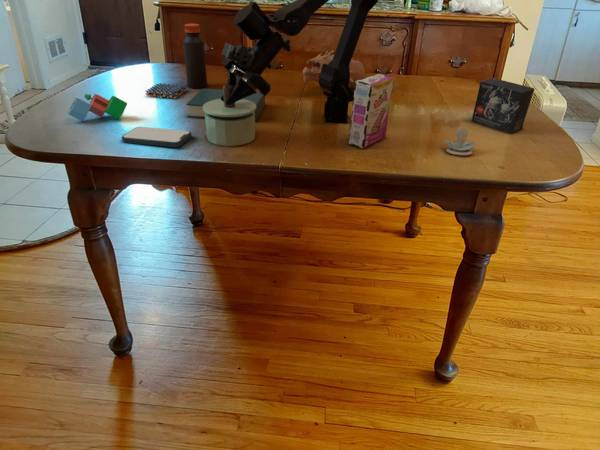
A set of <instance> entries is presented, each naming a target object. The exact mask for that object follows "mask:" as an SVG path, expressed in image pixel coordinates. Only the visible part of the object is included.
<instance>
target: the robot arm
mask: <svg viewBox="0 0 600 450" xmlns="http://www.w3.org/2000/svg"><path fill="white" fill-rule="evenodd" d="M329 1H330V0H295V1H292V2H289V3H287V4H286V5H283V6H281V7H280V8H278V9H276V11H274V12H273V13H272V14H267V15H266V14H265V12H264V11H263V10H262V9H261V7H260V6H259V4H258V3H257V2H256V1H250V2H249V4H247V5H245V6H243V7H242V8H240V9H239V10H238V11H237V12H236V14H235V16H234V17H233V23H234V25H236V27H237V28H238V29H239V30H240V31H241V32H242V33H243V34H244V35H245V36H246V37H247V38H248V39H249V40H250V41H256V42H255V43H254V45H253V46H252V47H250V46H244V45H242V44H238V45H237V46H235V45H233V44H231V43H228V42H224V45H223V48H222V51H221V54H220V56H223V57H224V59H223V61H222V62H221V65H222V66H223V67H224V69H225V72H226V75H227V80H226V84H225V85H233V86H234V88H233V90H232V92H231V93H230V95H229V96H228V98H227V100H226V102H225V103H226V104H227V105H231V104H233V103H235V102H237V101H239V100H241V99H243V98H245V97H248V96H250V95H252V94H256V93H257V92H260V93H261V94H262V95H264V96H265V97H267V95H268V94H269V93H270V91H271V84H270V83H269V82H268V81H267V80H266V79H265V78H264V77H263V76H262V74H263V73H264V72H265V70H266V69H268V70H270V69H272V66H273V65H271V63H272V62H273V61H274V59H275V58H276V56H277V55H278V54H279V53H280V51H281V50H284V51H286V52H288V53H290V52H291V40H290V39H288V38H284V36H282V35H281V34H284V35H285V36H289V37H296V36H298V35H299V34H301V32H302V31H303V30H304V28H305V27H306V26H307V25H308V23H309V21H310V19H311V17H312V16H313V15H314V13H316V12H317V11H318V10H319V9H321V8H322V7H324V6H325V4H326V3H329ZM379 1H380V0H350V8H349V11H348V14H347V16H346V20H345V23H344V26H343V29H342V31H341V34H340V37H339V40H338V43H337V45H336V49H335V51H334V57H333V59H332V61H331V62H330V63H329V64H328V65H327V64H325V63H324V64H323V65H322V69H321V73H320V75H319V76H318V77H319V83H318V85H319V88H320V90H321V91H322V95H323V96H325V97H326V101H325V102H324V107H323V108H324V110H323V118H324V122H327V123H340V124H341V123H342V124H347V123H348V120H349V114H348V113H349V104H350V102H352V103H353V100H354V90H352V89H351V87H350V86H348V85H349V80H350V69H349V65H350V62H351V59H353V56H354V53H355V51H356V48H357V45H358V43H359V40H360V37H361V35H362V33H363V29H364V27H365V23H366V21H367V18H368V15H369V12H370V11H371V10H372V9H373V8H374V7H375V6H376V4H378V2H379ZM271 28H273V29H275V31H273V29H271ZM256 90H258V91H256ZM221 100H222V101H223V102H224V96H223V94H222V97H221Z"/></svg>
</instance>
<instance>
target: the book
mask: <svg viewBox="0 0 600 450" xmlns="http://www.w3.org/2000/svg"><path fill="white" fill-rule="evenodd" d="M256 92H257V93H256V94H252V95H250V96H248V97H245V98H243V99H245V100H249V101H252V102H254V103H255V104H256V110H255V111H254V112H255V123H256V122H257V120H258V118H259V117H260V115H261V113H262V111H263V110H264V108H265V106H266V96H264V95H262V94H261V93H260V91H256ZM222 94H223V89H217V88H201V90H199V91H198V92H197V93H196V94H195V95H194V96H193V97H192V98H191V99H190V100H189V101H187V103H186V104H185V105H186V106H187V112H188V115H187V118H192V119H205V112H204V111H203V105H204V104H205V103H207V102H209V101H212V100H216V99H221V97H222Z"/></svg>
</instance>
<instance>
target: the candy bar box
mask: <svg viewBox="0 0 600 450" xmlns="http://www.w3.org/2000/svg"><path fill="white" fill-rule="evenodd" d="M394 82H395V77H394V76H390V75H386V74H382V73H377V74H374V75H371V76H368V77H364V79H361V80H357V81H355V87H354V90H353V92H354V99H353V101H352V109H351V120H350V128H349V136H348V145H350V146H352V147H356V148H358V149H363V150H364V149H366V148H368V147H370V146H372V145H373V144H375V143H378V142H380V141H381V140H384V139H385V138H386V134H387V127H388V120H389V113H390V107H391V103H392V102H391V101H392V94H393V87H394Z"/></svg>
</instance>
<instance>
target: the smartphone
mask: <svg viewBox="0 0 600 450" xmlns="http://www.w3.org/2000/svg"><path fill="white" fill-rule="evenodd" d="M192 137H193V133H192V131H190V130H181V129H170V128H161V127H160V128H159V127H150V126H136V127H134V128H133V129H130V130H129V131H128V132H126V133H124V134H123V135H122V136H121V142H123V143H128V144H137V145H148V146H158V147H169V148H180V147H182V146H183V145H184V144H185V143H186V142H187V141H189V140H190V139H191V138H192Z"/></svg>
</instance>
